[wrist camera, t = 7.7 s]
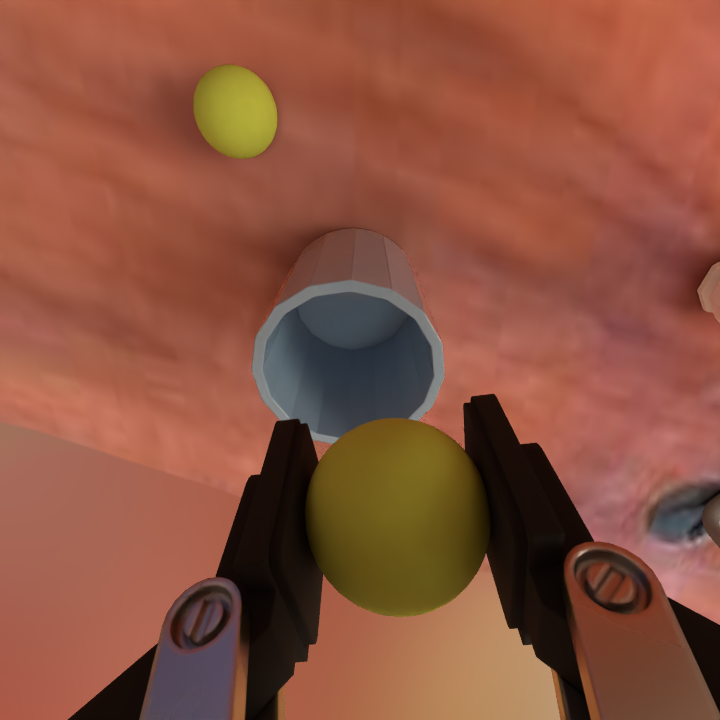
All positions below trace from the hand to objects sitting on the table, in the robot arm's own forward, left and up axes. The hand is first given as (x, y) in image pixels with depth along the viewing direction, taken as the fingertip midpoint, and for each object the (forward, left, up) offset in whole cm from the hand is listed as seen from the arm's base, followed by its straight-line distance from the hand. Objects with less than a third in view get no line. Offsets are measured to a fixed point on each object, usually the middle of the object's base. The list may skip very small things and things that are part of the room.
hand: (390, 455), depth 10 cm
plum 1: (-9, -6, -18) cm, 21 cm away
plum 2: (0, 0, 0) cm, 0 cm away
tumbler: (+2, -2, -18) cm, 18 cm away
